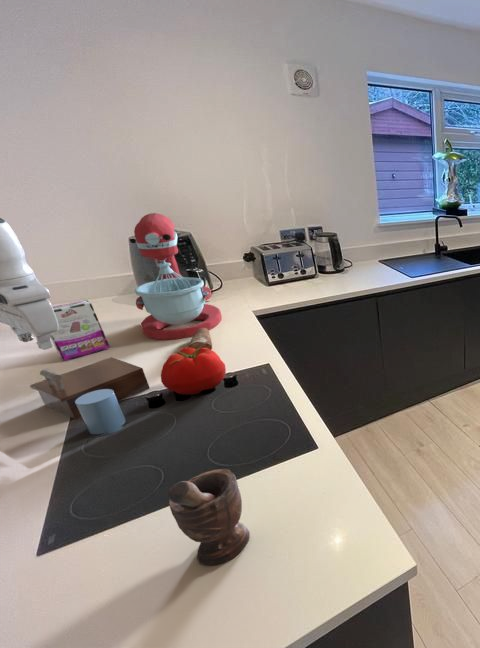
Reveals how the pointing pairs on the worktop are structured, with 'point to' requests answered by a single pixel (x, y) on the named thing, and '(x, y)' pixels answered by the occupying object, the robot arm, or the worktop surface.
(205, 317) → the stand mixer
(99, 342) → the candy bar box
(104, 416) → the canister
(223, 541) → the mortar and pestle
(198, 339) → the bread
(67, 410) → the brown wooden box
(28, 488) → the worktop surface
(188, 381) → the tomato
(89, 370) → the lid
